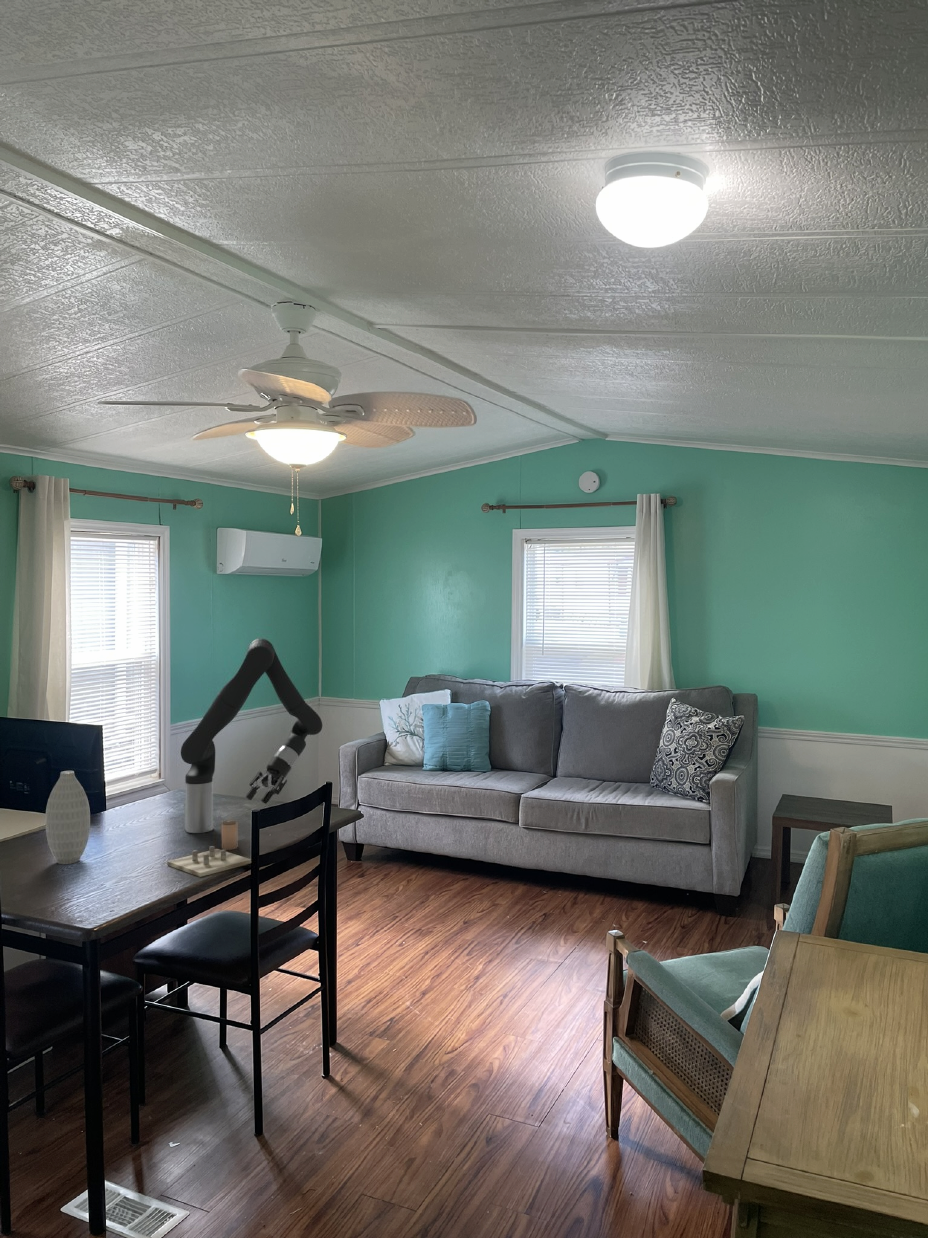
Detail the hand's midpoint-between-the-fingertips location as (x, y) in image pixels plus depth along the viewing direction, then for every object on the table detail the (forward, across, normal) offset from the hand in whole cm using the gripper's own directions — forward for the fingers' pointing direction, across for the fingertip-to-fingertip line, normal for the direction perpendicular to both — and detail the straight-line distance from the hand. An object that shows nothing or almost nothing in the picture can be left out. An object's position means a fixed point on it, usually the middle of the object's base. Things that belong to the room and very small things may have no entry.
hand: (255, 800), depth 306 cm
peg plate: (+28, +11, -8) cm, 31 cm away
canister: (+17, 0, +2) cm, 17 cm away
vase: (+47, -25, -27) cm, 60 cm away
